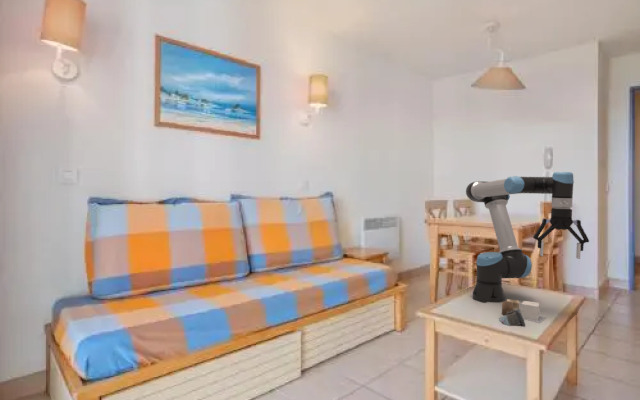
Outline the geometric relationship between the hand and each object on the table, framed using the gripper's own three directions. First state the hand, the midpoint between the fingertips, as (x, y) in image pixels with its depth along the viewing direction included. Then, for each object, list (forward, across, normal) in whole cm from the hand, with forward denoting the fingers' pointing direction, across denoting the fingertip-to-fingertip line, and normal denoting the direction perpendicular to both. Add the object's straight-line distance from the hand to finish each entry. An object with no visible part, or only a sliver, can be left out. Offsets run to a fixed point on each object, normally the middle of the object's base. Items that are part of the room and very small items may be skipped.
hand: (559, 257), depth 160 cm
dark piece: (+27, -21, -16) cm, 37 cm away
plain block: (+26, -11, -6) cm, 29 cm away
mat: (+27, -11, -6) cm, 29 cm away
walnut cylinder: (+27, -20, -6) cm, 34 cm away
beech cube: (+27, -17, +1) cm, 32 cm away
